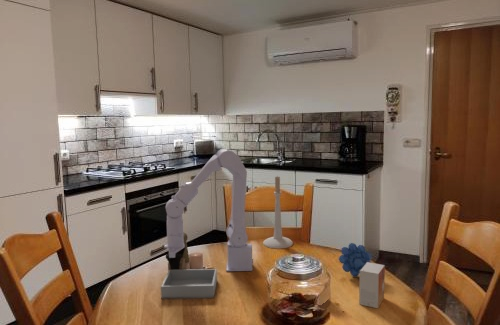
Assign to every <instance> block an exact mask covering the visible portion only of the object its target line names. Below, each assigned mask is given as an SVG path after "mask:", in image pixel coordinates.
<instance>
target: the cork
mask: <svg viewBox="0 0 500 325" xmlns="http://www.w3.org/2000/svg"><path fill="white" fill-rule="evenodd" d="M183 233H184V245H185V246H186V248H185V251H184V254H183V258H185V264H186V263H188V262H189V248H188V242H187V241H188V234H187V233H186V232H183Z"/></svg>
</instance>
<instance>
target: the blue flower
mask: <svg viewBox="0 0 500 325" xmlns="http://www.w3.org/2000/svg"><path fill="white" fill-rule="evenodd" d="M340 249H341V250H340V252H341V255H339V257H338V260H339V262H340V263H341V264H342V270H343V271H344V272H345V273H346V272H347V273H349V272H350V274H351V276H352V277H355V278H357V277H358V276H360V270H361V269H362V268H363V267H364V265H365V264H366V263H367V262H370V263H372V262H371V260H372V259H373V256H372V254H371V253H370V252H369V251H367V250H366V246H364V245H363V244H359V245H357V244H356V243H354V242H350V243H349V244H348V247H347V246H343V247H342V248H340Z"/></svg>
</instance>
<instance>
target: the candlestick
mask: <svg viewBox="0 0 500 325" xmlns="http://www.w3.org/2000/svg"><path fill="white" fill-rule="evenodd" d="M280 182H281V178H280V176H278V175H277V176H274V187H275V188H274V189H275V190H274V191H273V193H274V197H275V201H274V221H273V222H274V225H273V226H274V227H273V236H270V237H268V238H266V239H265V240H263V242H262V244H263V246H264V247H266V248H270V249H276V250H277V249H281V250H282V249H287V248H290V247H292V246H293V242H294V241H292V240H291V239H290V238H288V237H285V236H283V231H282V230H283V228H282V215H281V214H282V213H281V212H282V211H281V200H280V198H281V194H282V191H281V183H280Z"/></svg>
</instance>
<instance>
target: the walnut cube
mask: <svg viewBox="0 0 500 325" xmlns="http://www.w3.org/2000/svg"><path fill="white" fill-rule="evenodd" d="M182 269H186V263H185V258H181V260H180V266H179V270H182ZM169 270H171V268H170V264H169V262H168V261H167V272H168V271H169Z"/></svg>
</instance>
